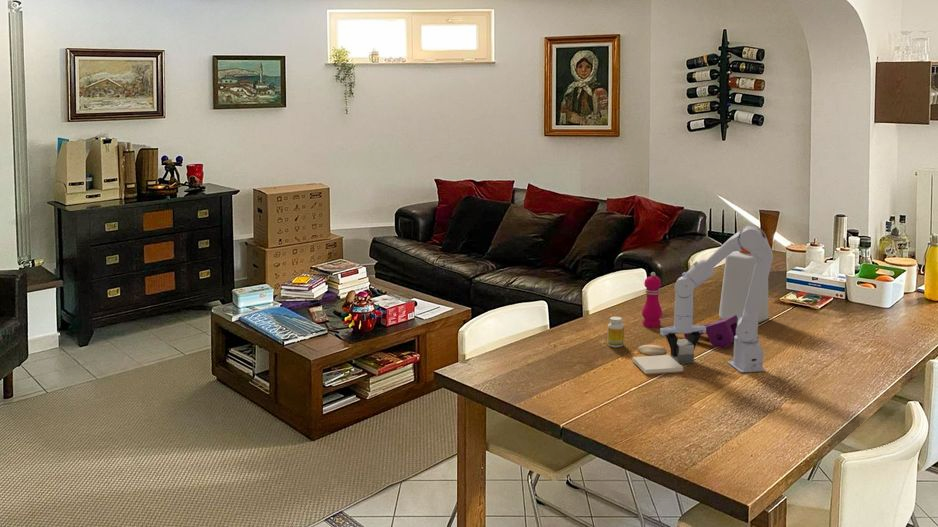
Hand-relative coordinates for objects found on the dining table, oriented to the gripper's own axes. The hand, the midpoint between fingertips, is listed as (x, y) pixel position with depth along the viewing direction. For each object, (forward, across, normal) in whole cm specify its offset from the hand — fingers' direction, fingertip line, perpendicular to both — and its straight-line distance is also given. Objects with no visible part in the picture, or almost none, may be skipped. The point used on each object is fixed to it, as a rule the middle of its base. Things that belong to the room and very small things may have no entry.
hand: (682, 355), depth 260 cm
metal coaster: (+2, +6, -11) cm, 13 cm away
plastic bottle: (+2, -40, -40) cm, 57 cm away
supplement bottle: (+2, +16, -19) cm, 25 cm away
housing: (+2, 0, 0) cm, 2 cm away
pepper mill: (+2, -4, -39) cm, 39 cm away
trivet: (+2, +10, +5) cm, 11 cm away
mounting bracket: (+2, -17, -17) cm, 24 cm away
